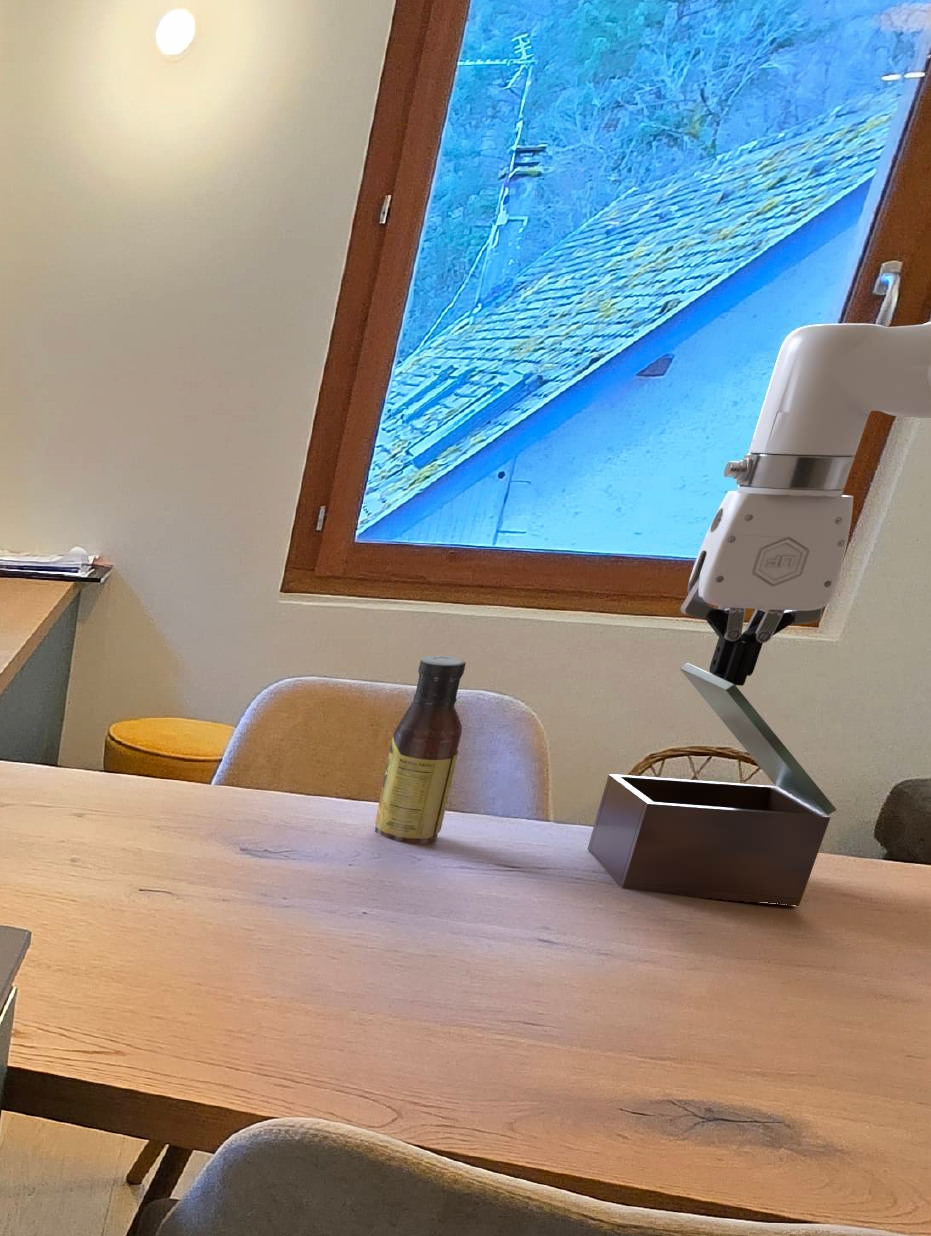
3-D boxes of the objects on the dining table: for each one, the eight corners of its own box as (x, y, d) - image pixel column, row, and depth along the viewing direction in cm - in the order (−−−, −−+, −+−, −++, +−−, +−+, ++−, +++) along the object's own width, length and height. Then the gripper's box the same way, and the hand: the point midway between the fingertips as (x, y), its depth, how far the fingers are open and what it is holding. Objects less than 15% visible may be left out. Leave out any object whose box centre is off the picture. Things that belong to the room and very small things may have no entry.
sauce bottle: (397, 829, 149) (439, 649, 140) (449, 847, 144) (496, 660, 135) (356, 839, 146) (396, 656, 138) (407, 857, 141) (453, 668, 133)
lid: (725, 690, 123) (734, 684, 123) (678, 668, 133) (687, 662, 133) (827, 815, 124) (837, 810, 124) (773, 784, 134) (782, 779, 134)
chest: (621, 890, 132) (647, 803, 128) (585, 855, 142) (608, 774, 138) (798, 907, 128) (830, 817, 124) (748, 869, 138) (776, 786, 134)
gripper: (712, 476, 119) (649, 684, 126) (916, 481, 115) (839, 696, 122) (681, 472, 126) (623, 670, 133) (873, 477, 122) (802, 681, 129)
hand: (727, 682), depth 128 cm, fingers closed
